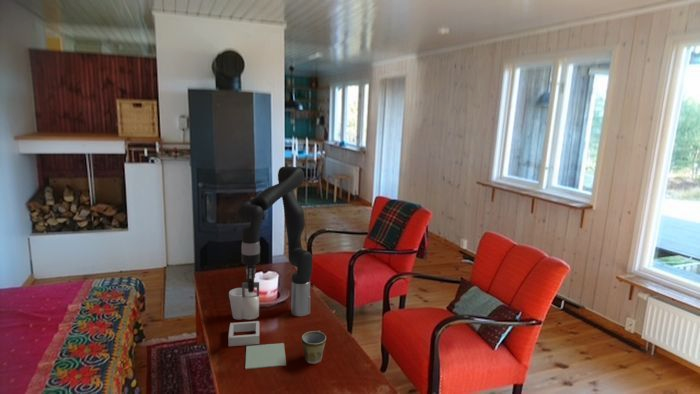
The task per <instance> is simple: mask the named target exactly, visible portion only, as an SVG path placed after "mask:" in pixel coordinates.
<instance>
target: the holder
mask: <svg viewBox="0 0 700 394" xmlns="http://www.w3.org/2000/svg"><path fill="white" fill-rule="evenodd" d="M229 323H230V324H229V328H228V329H229V330H228V338H227V339H228V344H227V345H228V347H237V346H239V347H240V346H241V347H242V346H254V345H260V321H259V320H256V321H255V320H254V321H241V322H229ZM245 332H255V333H253V334H241V335H235V334H234V333H245Z"/></svg>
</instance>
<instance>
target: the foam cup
mask: <svg viewBox="0 0 700 394" xmlns="http://www.w3.org/2000/svg"><path fill="white" fill-rule="evenodd" d="M246 293H250V292H249V291H248V288H245V294H246ZM228 297H229V301H230V302H229V303H230V304H229V305H230V308H231V315H232V318H233V319H234V320H238V321H240V320H245V319H244V318H243V317H242V287H236V288H232V289H230V290H229V292H228Z"/></svg>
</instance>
